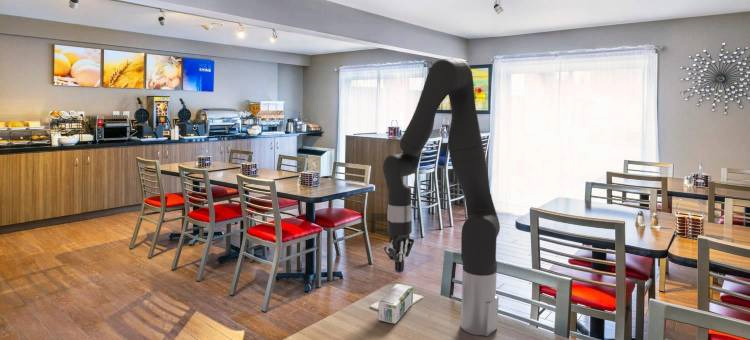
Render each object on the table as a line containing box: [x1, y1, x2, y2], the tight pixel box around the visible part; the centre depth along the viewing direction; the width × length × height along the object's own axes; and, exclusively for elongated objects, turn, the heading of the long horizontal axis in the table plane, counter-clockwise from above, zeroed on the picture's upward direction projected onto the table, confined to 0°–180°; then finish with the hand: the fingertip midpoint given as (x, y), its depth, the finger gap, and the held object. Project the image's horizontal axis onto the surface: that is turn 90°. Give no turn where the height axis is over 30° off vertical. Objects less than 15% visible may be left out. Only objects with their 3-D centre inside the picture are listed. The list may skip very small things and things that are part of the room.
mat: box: [369, 292, 425, 311], centre depth 148 cm, size 9×16×1 cm, turn 140°
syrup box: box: [377, 283, 414, 324], centre depth 141 cm, size 6×6×14 cm
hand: (399, 271), depth 147 cm, fingers closed
